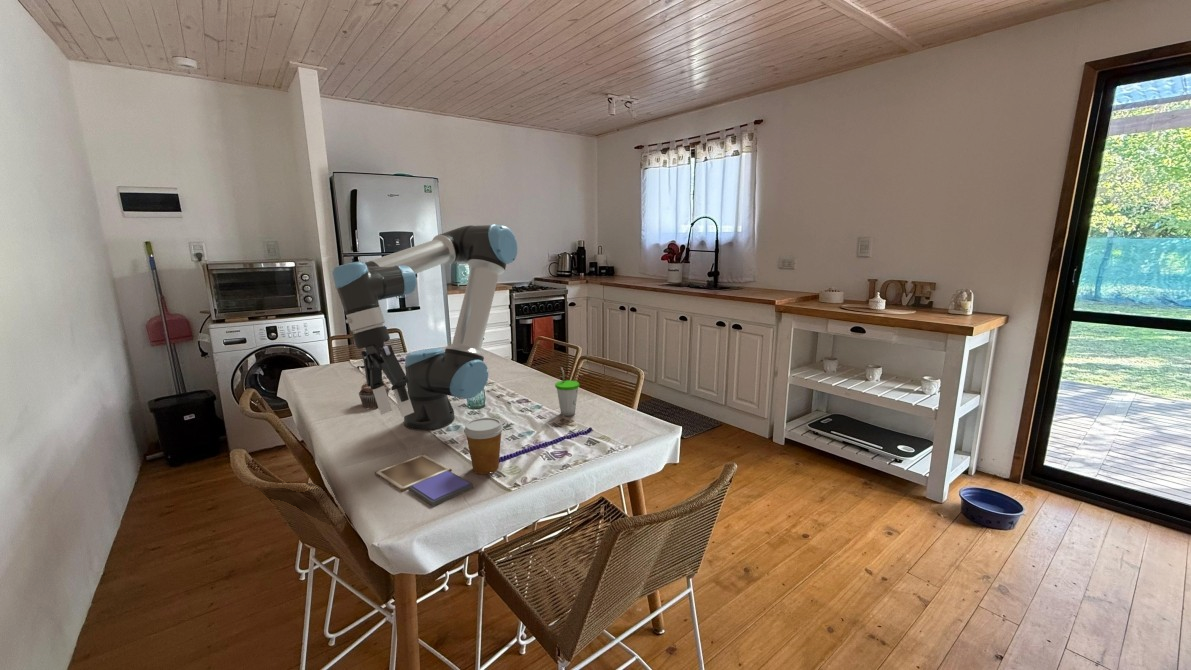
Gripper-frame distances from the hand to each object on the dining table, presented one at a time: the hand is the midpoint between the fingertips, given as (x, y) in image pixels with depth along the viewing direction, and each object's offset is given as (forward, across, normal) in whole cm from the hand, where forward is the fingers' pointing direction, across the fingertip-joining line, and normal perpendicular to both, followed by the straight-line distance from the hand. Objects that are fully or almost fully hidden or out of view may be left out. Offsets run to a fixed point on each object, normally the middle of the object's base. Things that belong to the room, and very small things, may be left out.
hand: (396, 413), depth 117 cm
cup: (+22, -6, +54) cm, 59 cm away
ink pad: (+19, +10, +1) cm, 21 cm away
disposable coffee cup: (+20, +8, +14) cm, 26 cm away
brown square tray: (+16, -3, 0) cm, 16 cm away
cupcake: (+5, -60, +14) cm, 61 cm away
